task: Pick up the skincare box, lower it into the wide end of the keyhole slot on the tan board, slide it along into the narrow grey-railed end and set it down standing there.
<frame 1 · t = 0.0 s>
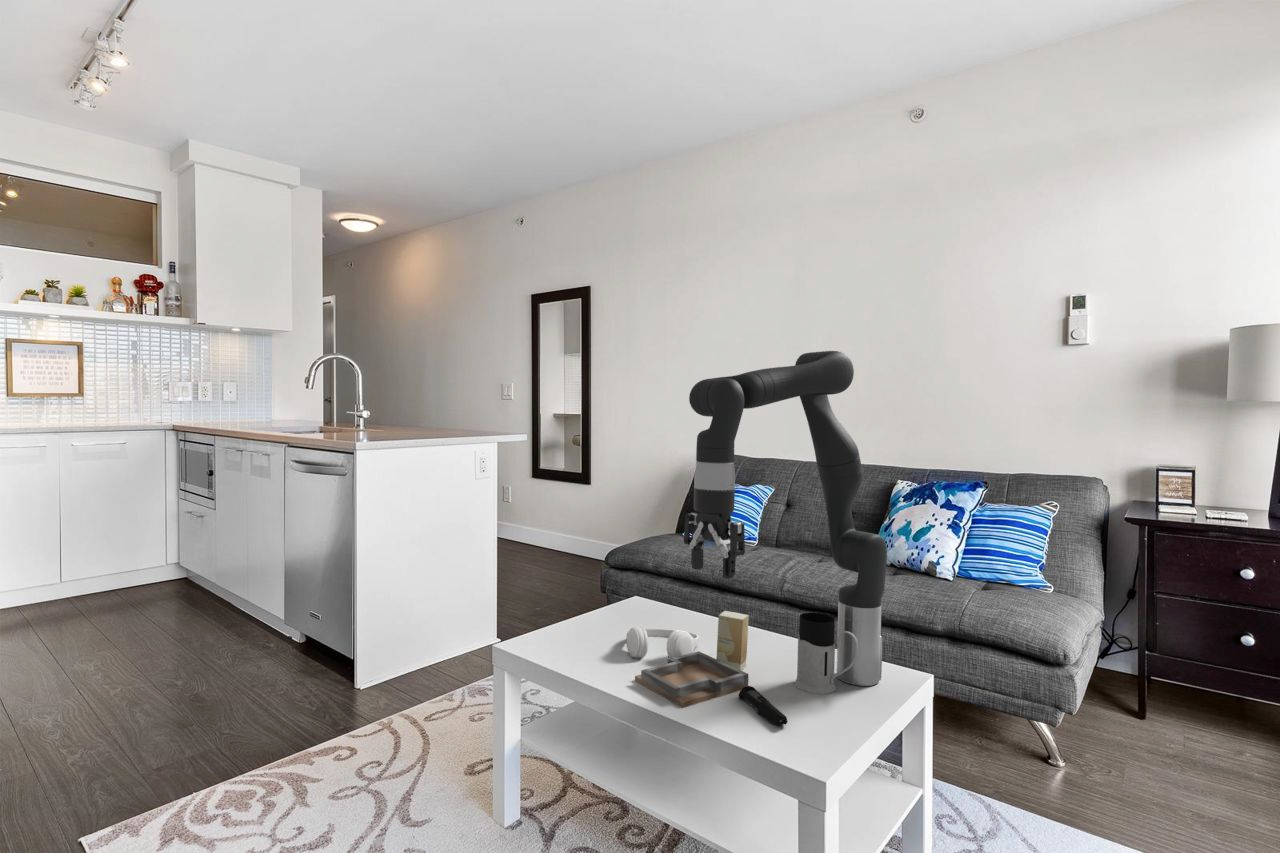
hand: (712, 573, 124), 29 cm above the table, tool pointing down, fingers open, 8 cm apart
electric trimmer: (763, 713, 133), on the table
headphones: (661, 651, 168), on the table
keyhole board: (691, 684, 146), on the table
skincare box: (731, 667, 157), on the table
glass holder: (826, 690, 145), on the table
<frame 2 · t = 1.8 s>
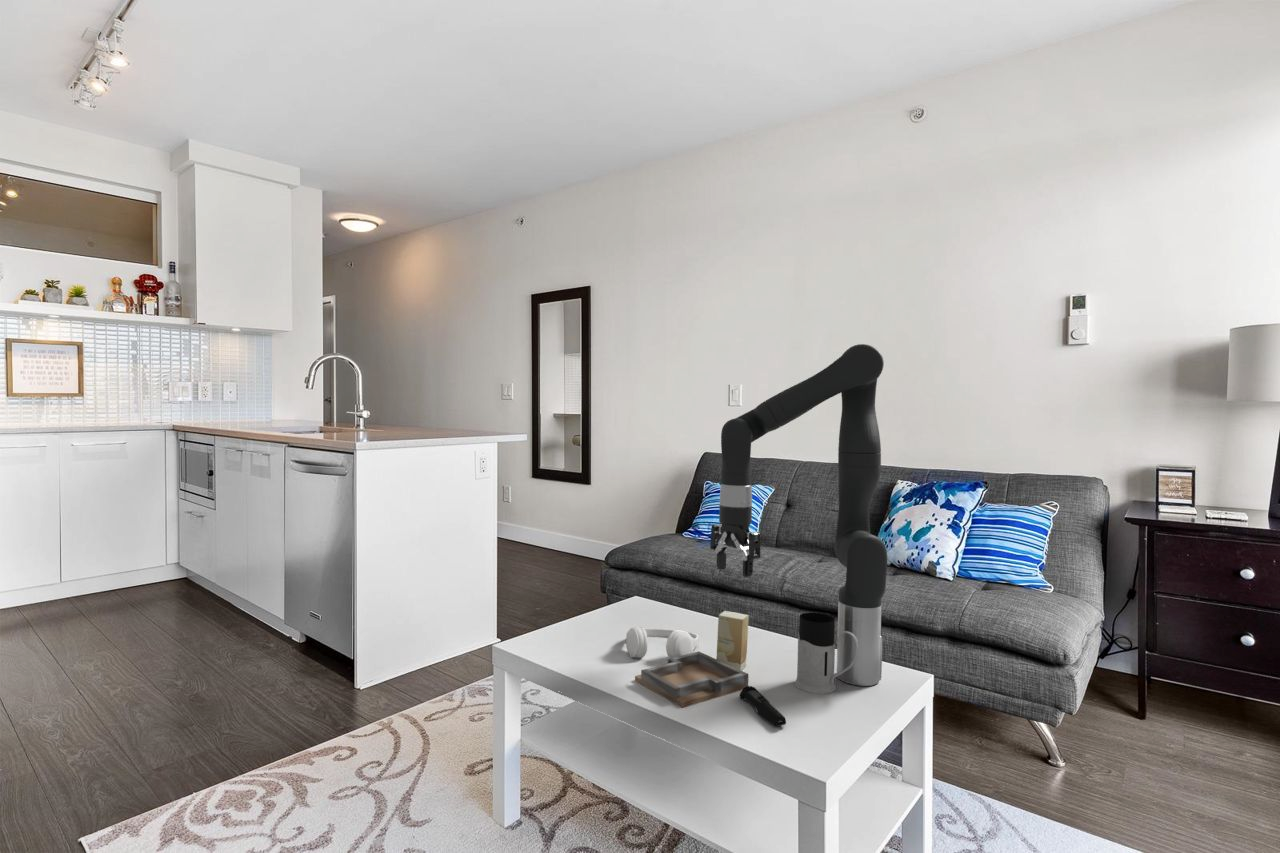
hand: (734, 572, 157), 22 cm above the table, tool pointing down, fingers open, 8 cm apart
nothing on the table moved.
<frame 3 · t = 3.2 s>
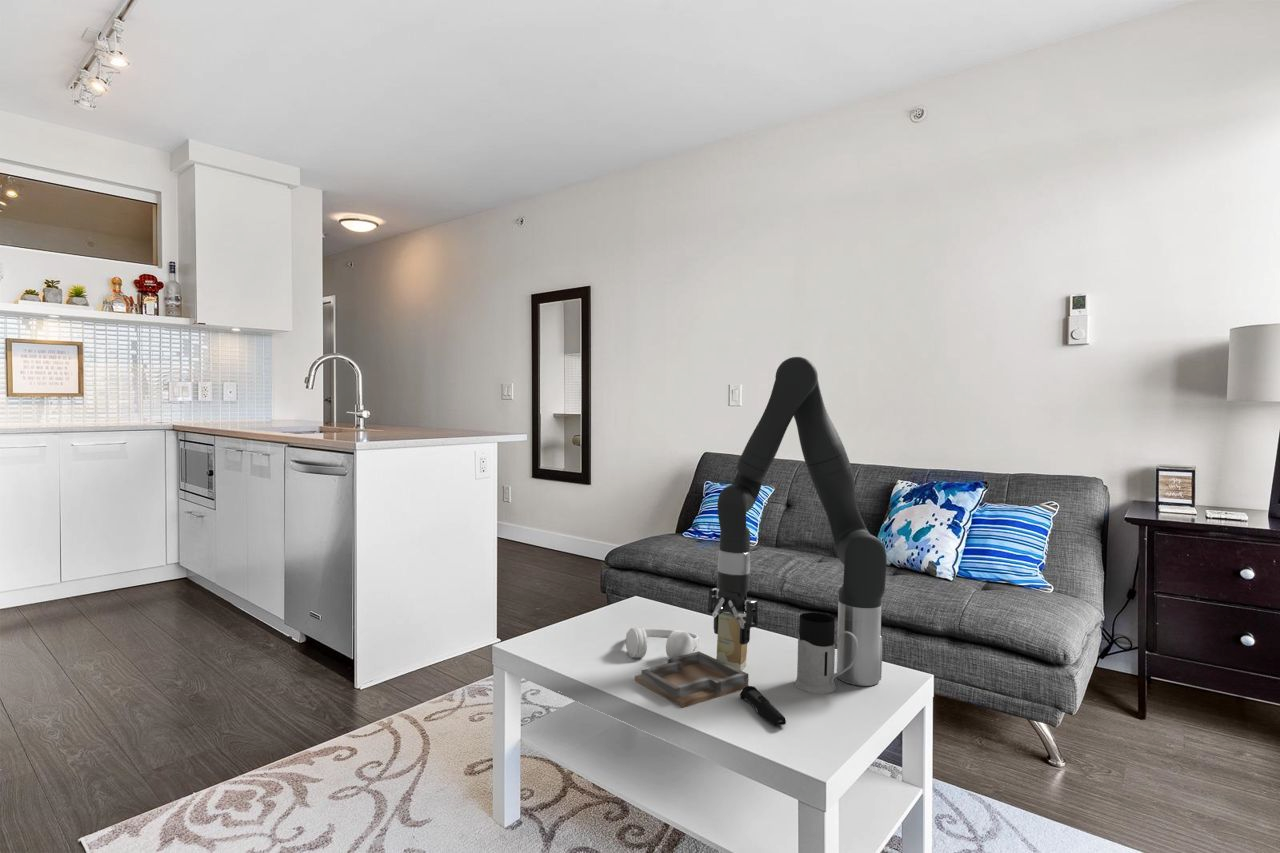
hand: (730, 638, 157), 7 cm above the table, tool pointing down, fingers open, 8 cm apart
nothing on the table moved.
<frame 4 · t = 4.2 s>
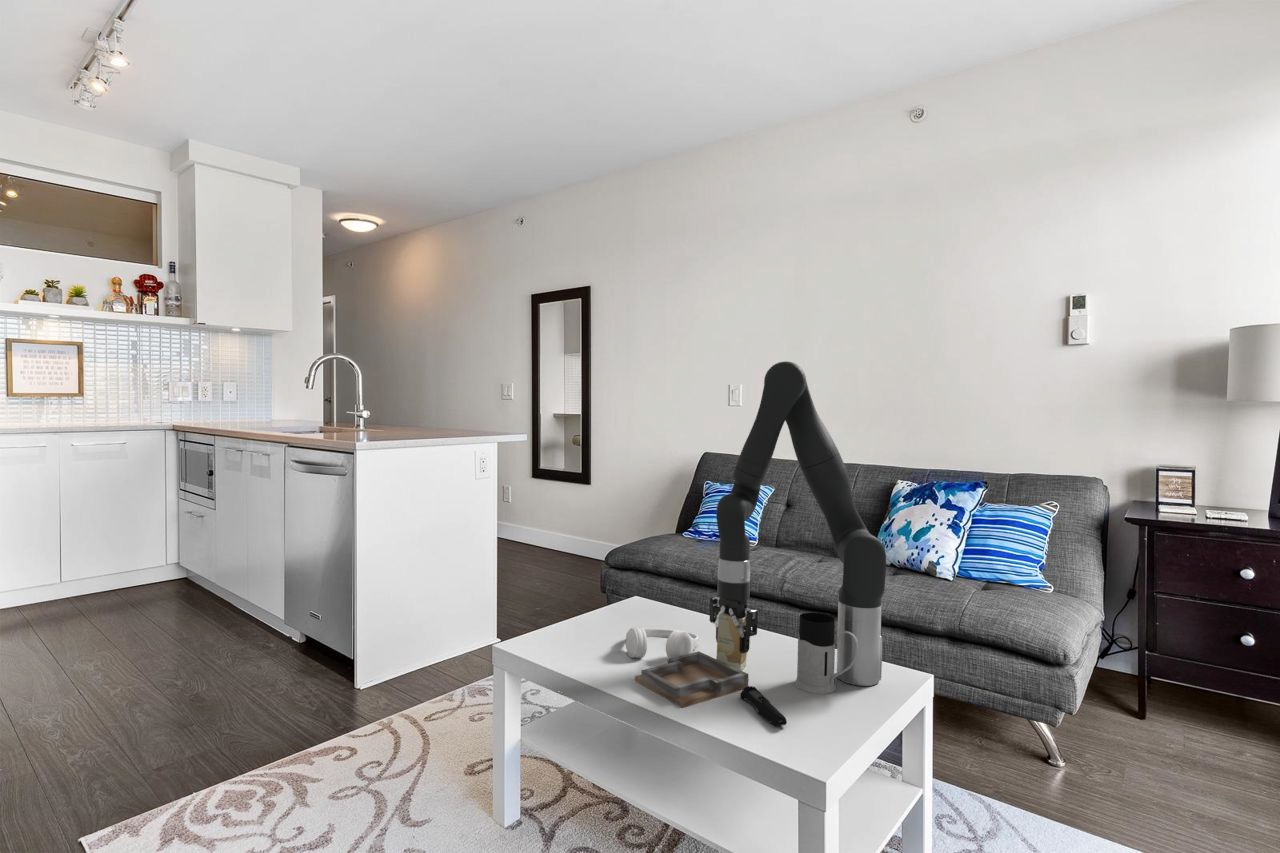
hand: (732, 647, 157), 4 cm above the table, tool pointing down, fingers closed on skincare box, 7 cm apart
skincare box: (731, 666, 157), on the table, touching gripper
everything else where it was.
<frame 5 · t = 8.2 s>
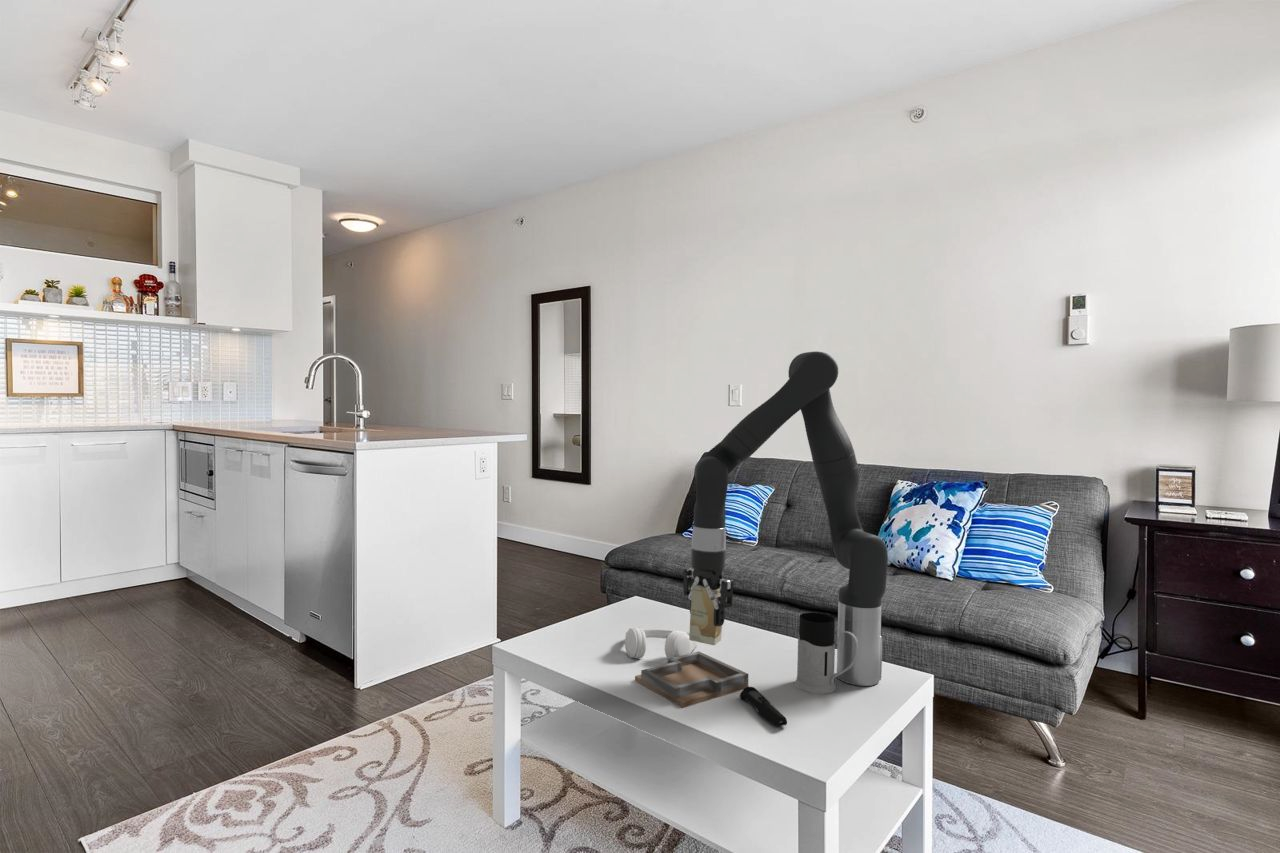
hand: (706, 620, 148), 13 cm above the table, tool pointing down, fingers closed on skincare box, 7 cm apart
skincare box: (705, 641, 148), point 9 cm above the table, touching gripper
everything else where it was.
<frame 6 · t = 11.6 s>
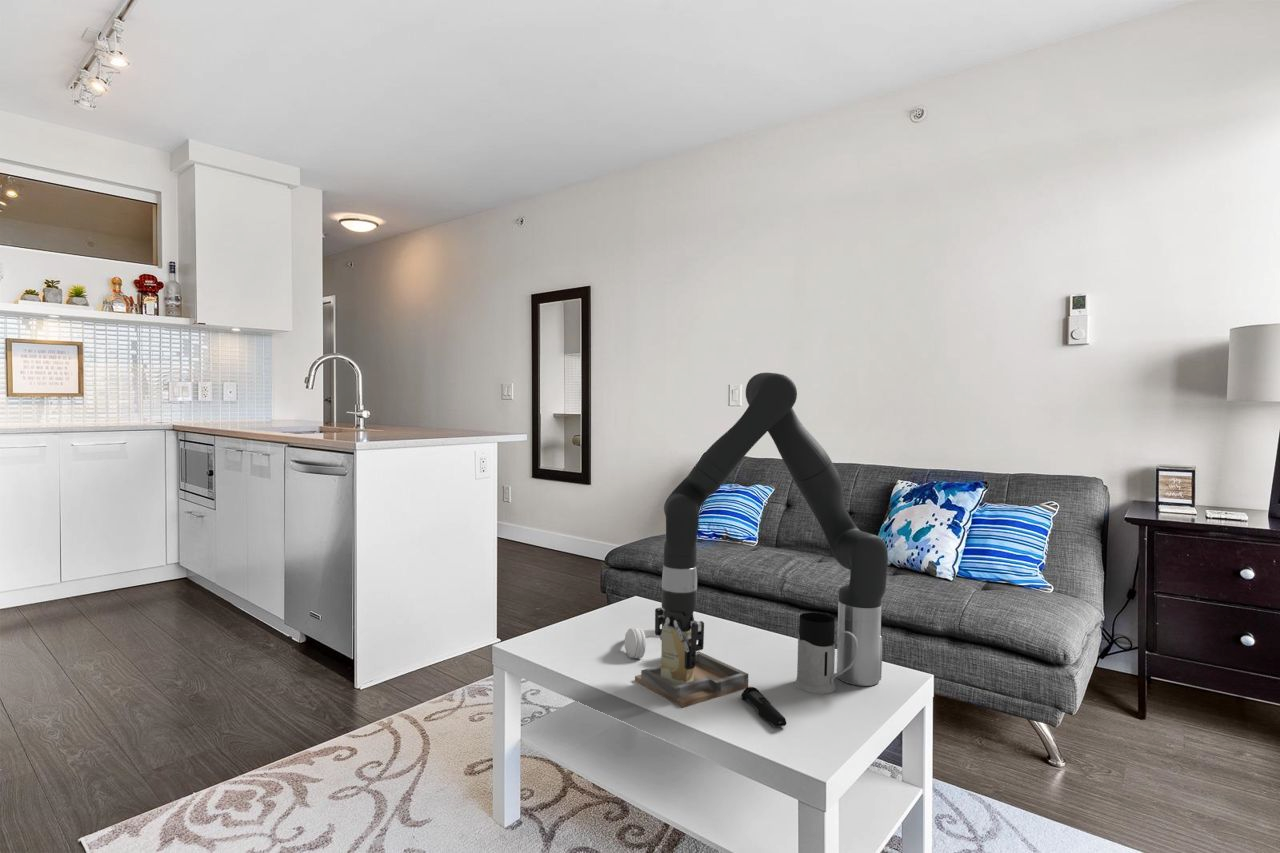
hand: (677, 662, 144), 5 cm above the table, tool pointing down, fingers closed on skincare box, 7 cm apart
skincare box: (677, 684, 144), point 1 cm above the table, touching gripper
everything else where it was.
when the fingers open (6 cm above the table, at t = 12.5 s): skincare box stays where it is, resting on keyhole board.
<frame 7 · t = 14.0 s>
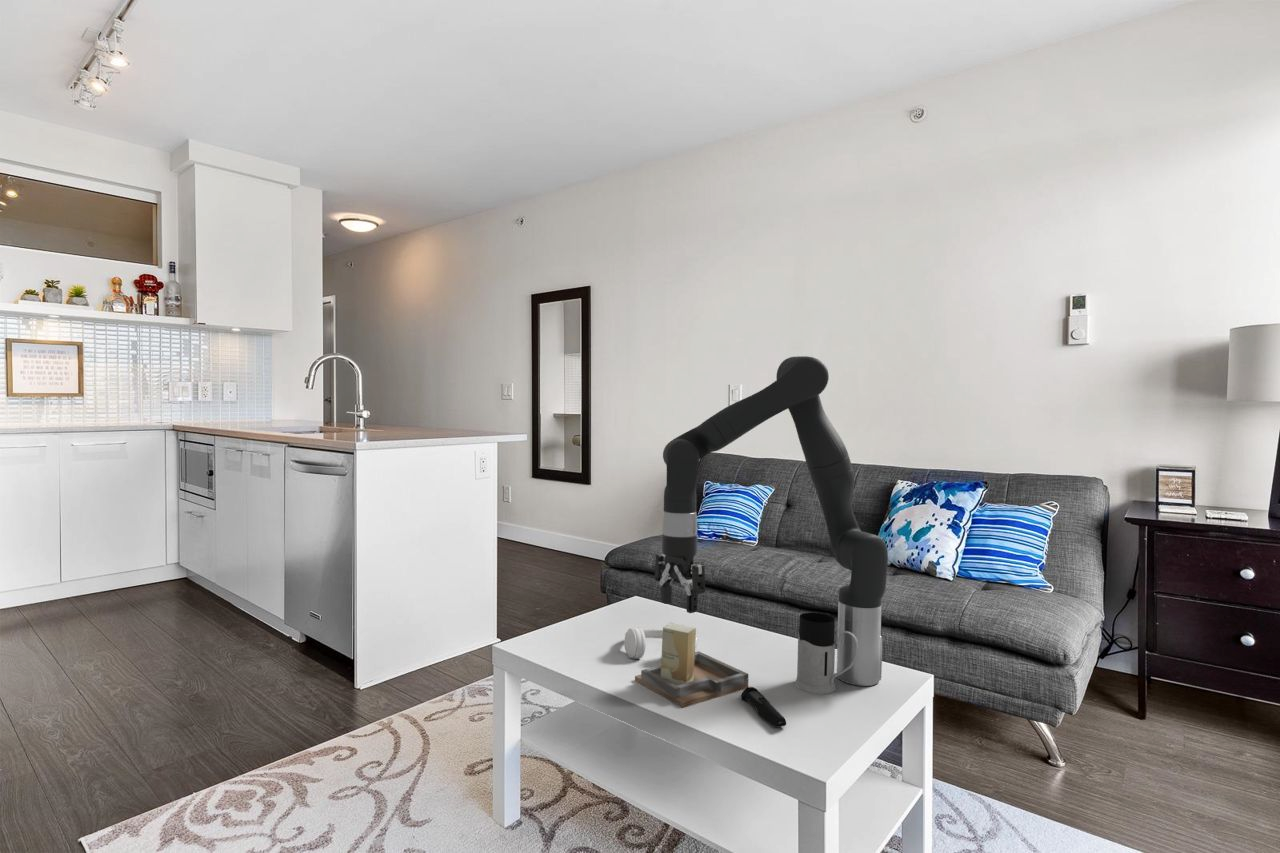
hand: (678, 607, 143), 17 cm above the table, tool pointing down, fingers open, 8 cm apart
skincare box: (677, 684, 144), point 1 cm above the table, touching keyhole board
everything else where it was.
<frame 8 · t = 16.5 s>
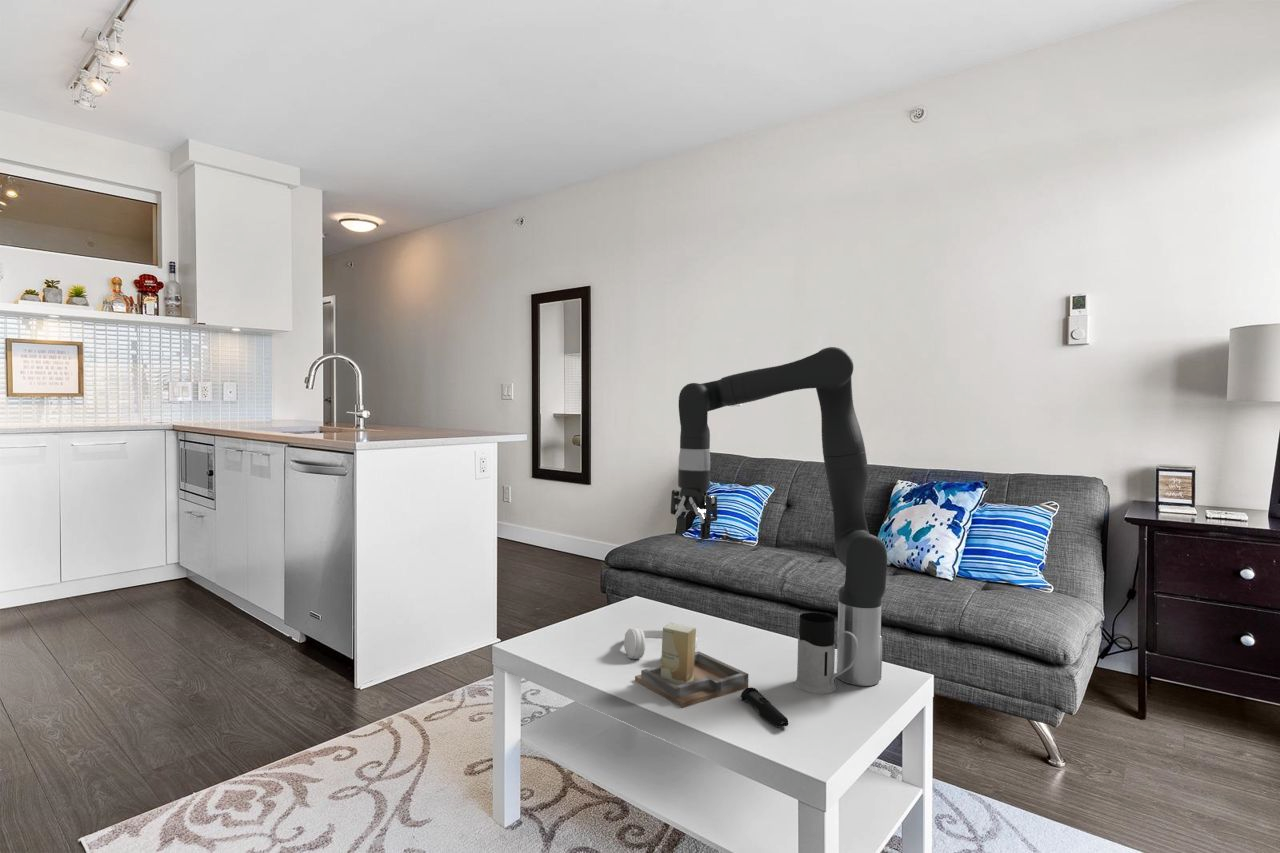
hand: (692, 536, 158), 30 cm above the table, tool pointing down, fingers open, 8 cm apart
at the end: skincare box 0.1 cm from the target spot on the keyhole board, point 0.8 cm above the keyhole board's base; skincare box tilted 0°; the gripper is holding nothing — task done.
